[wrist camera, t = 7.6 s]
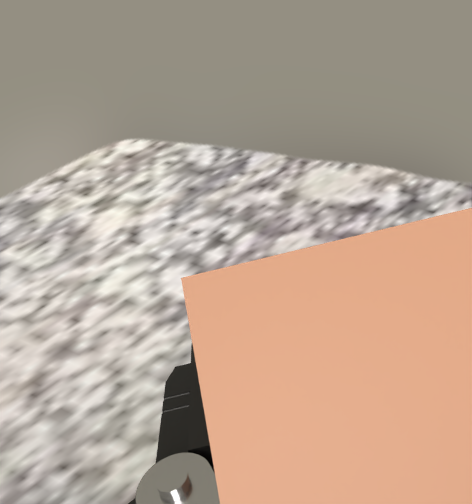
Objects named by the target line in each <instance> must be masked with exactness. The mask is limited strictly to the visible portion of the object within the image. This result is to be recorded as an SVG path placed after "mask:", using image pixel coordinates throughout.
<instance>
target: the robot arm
mask: <svg viewBox="0 0 472 504" xmlns="http://www.w3.org/2000/svg"><path fill="white" fill-rule="evenodd" d="M162 411H163V414H162V417H161V425H160V433H159V442H158V450H157V458H156V464H155V465H154V466H152V467H151V468H150V469H149V470H148V471H147V473H146V474H145V475H144V476H143V478H142V479H141V481H140V483H139V485H138V488H137V492H136V498H135V499H134V500H132V501H131V502H130V503H128V504H220V500H219V494H218V489H217V483H216V477H215V471H214V465H213V460H212V454H211V448H210V442H209V436H208V431H207V425H206V419H205V413H204V407H203V402H202V396H201V390H200V384H199V378H198V373H197V367H196V361H195V355H194V349H193V344H192V350H191V363H190V364H186V365H181V366H177V367H175V369H174V370H173V372H172V373H171V375H170V376H169V378H168V380H167V381H166V385H165V393H164V401H163V409H162Z"/></svg>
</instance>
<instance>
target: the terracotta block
mask: <svg viewBox="0 0 472 504" xmlns="http://www.w3.org/2000/svg"><path fill="white" fill-rule="evenodd" d="M181 280H182V286H183V291H184V297H185V303H186V309H187V315H188V320H189V326H190V332H191V338H192V344H193V349H194V355H195V361H196V367H197V373H198V378H199V384H200V390H201V396H202V402H203V407H204V413H205V419H206V425H207V431H208V436H209V442H210V448H211V454H212V460H213V465H214V471H215V477H216V483H217V489H218V494H219V500H220V504H472V208H469V209H465V210H461V211H457V212H453V213H449V214H445V215H440V216H436V217H432V218H428V219H424V220H420V221H416V222H411V223H407V224H403V225H399V226H395V227H391V228H387V229H382V230H378V231H374V232H370V233H366V234H362V235H358V236H353V237H349V238H345V239H341V240H337V241H333V242H329V243H324V244H320V245H316V246H312V247H308V248H304V249H300V250H296V251H291V252H287V253H283V254H279V255H275V256H271V257H267V258H262V259H258V260H254V261H250V262H246V263H242V264H238V265H233V266H229V267H225V268H221V269H217V270H213V271H209V272H204V273H200V274H196V275H192V276H188V277H184V278H181Z"/></svg>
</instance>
